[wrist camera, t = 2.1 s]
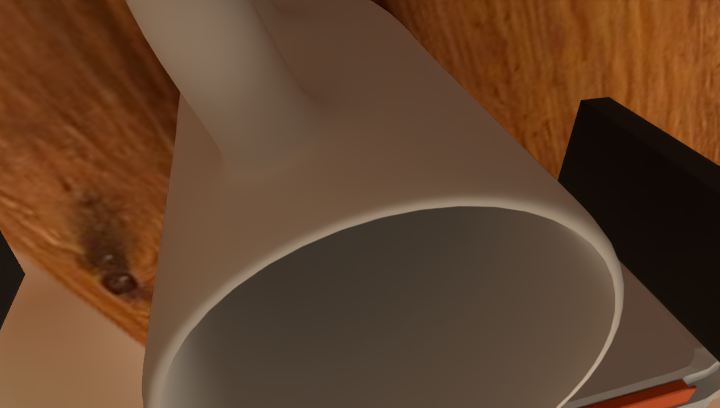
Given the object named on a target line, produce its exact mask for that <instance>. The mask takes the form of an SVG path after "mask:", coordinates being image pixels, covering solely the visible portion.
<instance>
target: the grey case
mask: <svg viewBox="0 0 720 408" xmlns="http://www.w3.org/2000/svg"><path fill="white" fill-rule="evenodd" d="M619 263H620V265H621V269H622V275H623V281H624V298H623V309H622V313H621V318H620V322H619V326H618V328H617V331H616V333H615V336H614V338H613V340H612V343H611V345H610V347H609V348H608V350H607V352H606V354H605V355H604V357H603V359H602V360H601V362H600V363H599V365H598V366H597V367H596V369H595V370H594V372H593V373H592V374H591V376H590V377H589V378H588V379H587V381H586V382H585V383H584V384H583V385H582V386H581V387H580V388H579V390H578V391H577V392H576V393H575V394H574V395H573V396H572V397H571V398H570V399H569V400H568V401H567V402H566V403H565V404H563V405H562V406H561V407H560V408H706V407H707V405H708V404H709V403H710V401H711V400H714V399H717V398H719V397H720V362H719V361H718V360H717V359H716V358H715V357H714V356H713V355H712V354H711V353H710V352H709V351H708V350H707V349H706V348H705V347H704V346H703V345H702V344H701V343H700V342H699V341H698V340H697V339H696V338H695V337H694V336H693V335H692V334H691V333H690V332H689V331H688V330H687V329H686V328H685V327H684V326H683V325H682V324H681V323H680V322H679V321H678V320H677V319H676V318H675V317H674V316H673V315H672V314H671V313H670V312H669V311H668V310H667V309H666V308H665V307H664V306H663V305H662V304H661V302H660V301H659V300H658V299H657V298H656V297H655V296H654V295H653V294H652V293H651V292H650V291H649V290H648V289H647V288H646V287H645V286H644V285H643V284H642V283H641V282H640V281H639V280H638V279H637V278H636V277H635V276H634V275H633V274H632V273H631V272H630V271H629V270H628V269H627V268H626V267H625V266H624V265H623V264H622V263H621V262H620V261H619Z"/></svg>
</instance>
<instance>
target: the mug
mask: <svg viewBox="0 0 720 408" xmlns="http://www.w3.org/2000/svg"><path fill="white" fill-rule="evenodd" d="M126 2H127V4H128V7H129V9H130V11H131V13H132V14H133V16H134V18H135V20H136V22H137V24H138V26H139V27H140V29H141V31H142V33H143V35H144V37H145V38H146V40H147V42H148V43H149V45H150V46H151V48H152V50H153V51H154V53H155V55H156V56H157V58H158V59H159V61H160V63H161V64H162V66H163V67H164V69H165V70H166V72H167V73H168V75H169V76H170V78H171V79H172V81H173V82H174V83H175V85H176V86H177V88H178V89H179V91H180V99H179V107H178V116H177V129H176V139H175V147H174V154H173V161H172V168H171V175H170V182H169V189H168V196H167V202H166V209H165V216H164V223H163V230H162V237H161V244H160V251H159V258H158V265H157V271H156V278H155V285H154V292H153V299H152V306H151V313H150V320H149V327H148V334H147V342H146V349H145V358H144V365H143V376H142V398H143V408H560V407H561V406H562V405H563V404H565V403H566V402H567V401H568V400H569V399H570V398H571V397H572V396H573V395H574V394H575V393H576V392H577V391H578V390H579V388H580V387H581V386H582V385H583V384H584V383H585V382H586V381H587V379H588V378H589V377H590V376H591V374H592V373H593V372H594V370H595V369H596V367H597V366H598V365H599V363H600V362H601V360H602V359H603V357H604V355H605V354H606V352H607V350H608V348H609V347H610V345H611V343H612V340H613V338H614V336H615V333H616V331H617V328H618V326H619V322H620V318H621V313H622V309H623V298H624V281H623V275H622V269H621V265H620V263H619V260H618V258H617V256H616V253H615V251H614V248H613V246H612V244H611V242H610V240H609V239H608V238H607V236H606V235H605V234H604V232H603V231H602V229H601V228H600V227H599V225H598V224H597V223H596V221H595V220H594V219H593V217H592V216H591V215H590V214H589V213H588V212H587V211H586V210H585V208H584V207H583V206H582V205H581V204H580V203H579V202H578V201H577V200H576V199H575V198H574V197H573V196H572V195H571V194H570V193H569V192H568V191H567V190H566V189H565V188H564V187H563V186H562V185H561V184H560V183H559V182H558V181H557V180H556V179H555V178H554V177H553V176H552V175H551V174H550V173H549V172H548V171H547V170H546V169H545V168H544V167H543V166H542V165H541V164H540V163H539V162H538V161H537V160H536V159H535V158H534V157H533V156H532V155H531V154H530V153H529V152H528V151H527V150H526V149H525V148H524V147H523V146H522V145H521V144H520V143H519V142H518V141H517V140H516V139H515V138H514V137H513V136H512V135H511V134H510V133H509V132H508V131H507V130H506V129H505V128H504V127H503V126H502V125H501V124H500V123H498V122H497V121H496V120H495V119H494V118H493V117H492V116H491V115H490V114H489V113H488V112H487V111H486V110H485V109H484V108H483V107H482V106H481V105H480V104H479V103H478V102H477V101H476V100H475V99H474V98H473V97H472V96H471V95H470V94H469V93H468V92H467V91H466V90H465V89H464V88H463V87H462V86H461V85H460V84H459V83H458V82H457V81H456V80H455V79H454V78H453V77H452V76H451V75H450V74H449V73H448V72H447V71H446V70H445V69H444V68H443V67H442V66H441V65H440V64H439V63H438V62H437V61H436V60H435V59H434V58H433V57H432V56H431V55H430V54H429V53H428V52H427V50H426V49H425V48H424V47H423V46H422V45H421V44H420V43H419V42H418V41H417V39H416V38H415V37H414V36H413V35H412V34H411V33H410V32H409V30H408V29H407V28H406V27H405V26H404V25H403V24H401V23H400V22H399V21H398V20H397V19H396V18H395V17H394V16H393V15H392V14H390V13H389V12H388V11H386V10H385V9H383V8H382V7H380V6H379V5H377V4H376V3H374V2H373V1H371V0H126Z"/></svg>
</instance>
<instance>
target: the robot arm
mask: <svg viewBox="0 0 720 408" xmlns="http://www.w3.org/2000/svg"><path fill="white" fill-rule="evenodd" d="M558 182H559V183H560V184H561V185H562V186H563V187H564V188H565V189H566V190H567V191H568V192H569V193H570V194H571V195H572V196H573V197H574V198H575V199H576V200H577V201H578V202H579V203H580V204H581V205H582V206H583V207H584V208H585V210H586V211H587V212H588V213H589V214H590V215H591V216H592V217H593V219H594V220H595V221H596V223H597V224H598V225H599V227H600V228H601V229H602V231H603V232H604V234H605V235H606V236H607V238H608V239H609V240H610V242H611V244H612V246H613V248H614V251H615V253H616V256H617V258H618V260H619V261H620V262H621V263H622V264H623V265H624V266H625V267H626V268H627V269H628V270H629V271H630V272H631V273H632V274H633V275H634V276H635V277H636V278H637V279H638V280H639V281H640V282H641V283H642V284H643V285H644V286H645V287H646V288H647V289H648V290H649V291H650V292H651V293H652V294H653V295H654V296H655V297H656V298H657V299H658V300H659V301H660V302H661V304H662V305H663V306H664V307H665V308H666V309H667V310H668V311H669V312H670V313H671V314H672V315H673V316H674V317H675V318H676V319H677V320H678V321H679V322H680V323H681V324H682V325H683V326H684V327H685V328H686V329H687V330H688V331H689V332H690V333H691V334H692V335H693V336H694V337H695V338H696V339H697V340H698V341H699V342H700V343H701V344H702V345H703V346H704V347H705V348H706V349H707V350H708V351H709V352H710V353H711V354H712V355H713V356H714V357H715V358H716V359H717V360H718V361H719V362H720V166H718V165H717V164H715V163H713V162H712V161H710V160H709V159H707V158H705V157H704V156H702V155H701V154H699V153H697V152H696V151H694V150H693V149H691V148H690V147H688V146H686V145H685V144H683V143H682V142H680V141H678V140H677V139H675V138H674V137H672V136H670V135H669V134H667V133H666V132H664V131H662V130H661V129H659V128H658V127H656V126H654V125H653V124H651V123H650V122H648V121H646V120H645V119H643V118H642V117H640V116H638V115H637V114H635V113H634V112H632V111H630V110H629V109H627V108H626V107H624V106H622V105H621V104H619V103H618V102H616V101H614V100H613V99H611V98H610V97H605V98H596V99H587V100H581V102H580V106H579V109H578V112H577V116H576V119H575V123H574V126H573V130H572V133H571V137H570V140H569V144H568V147H567V151H566V154H565V158H564V161H563V164H562V168H561V171H560V175H559V178H558ZM24 276H25V273H24V272H23V269H22V268H21V266H20V264H19V263H18V261H17V259H16V257H15V255H14V254H13V252H12V250H11V248H10V247H9V245H8V243H7V241H6V240H5V238H4V236H3V234H2V233H1V231H0V329H1V327H2V325H3V323H4V320H5V318H6V316H7V313H8V311H9V309H10V307H11V305H12V302H13V300H14V298H15V296H16V294H17V291H18V289H19V287H20V285H21V282H22V280H23V278H24Z"/></svg>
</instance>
